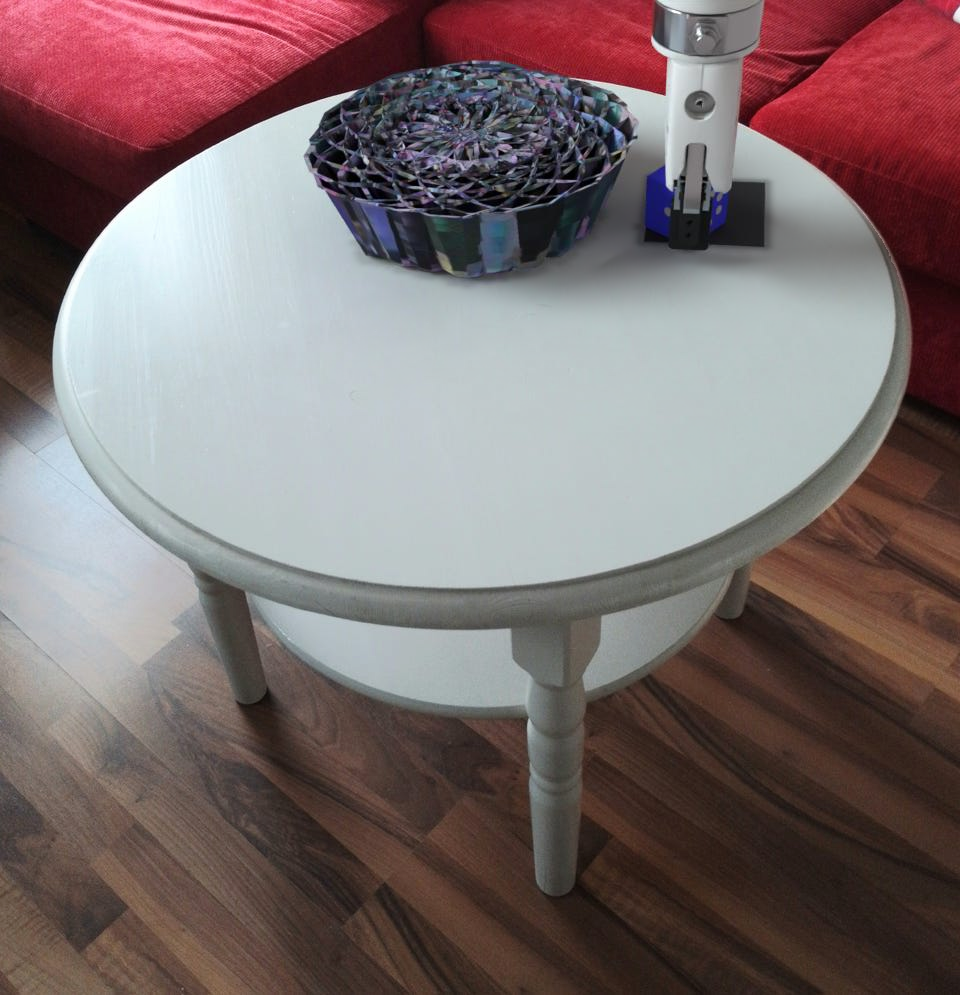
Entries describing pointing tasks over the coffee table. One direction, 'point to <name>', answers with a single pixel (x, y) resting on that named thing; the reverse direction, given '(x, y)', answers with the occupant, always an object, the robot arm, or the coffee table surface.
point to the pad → (735, 218)
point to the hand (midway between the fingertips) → (688, 243)
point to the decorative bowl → (471, 165)
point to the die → (661, 204)
